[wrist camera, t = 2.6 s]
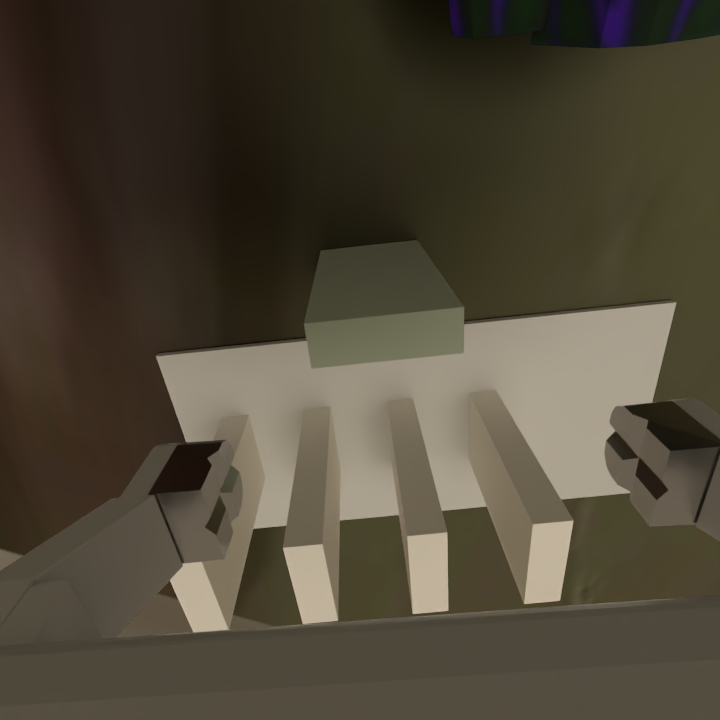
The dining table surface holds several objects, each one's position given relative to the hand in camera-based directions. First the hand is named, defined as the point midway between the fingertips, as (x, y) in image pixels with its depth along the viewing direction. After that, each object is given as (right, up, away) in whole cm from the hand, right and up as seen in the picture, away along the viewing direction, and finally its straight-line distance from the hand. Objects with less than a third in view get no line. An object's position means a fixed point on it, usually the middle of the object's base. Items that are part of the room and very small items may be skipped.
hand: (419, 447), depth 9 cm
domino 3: (-1, +7, +13) cm, 15 cm away
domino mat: (+2, -3, +18) cm, 19 cm away
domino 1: (-9, -4, +18) cm, 20 cm away
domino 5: (+6, -2, +18) cm, 19 cm away
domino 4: (+1, -3, +18) cm, 18 cm away
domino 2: (-4, -3, +18) cm, 19 cm away
